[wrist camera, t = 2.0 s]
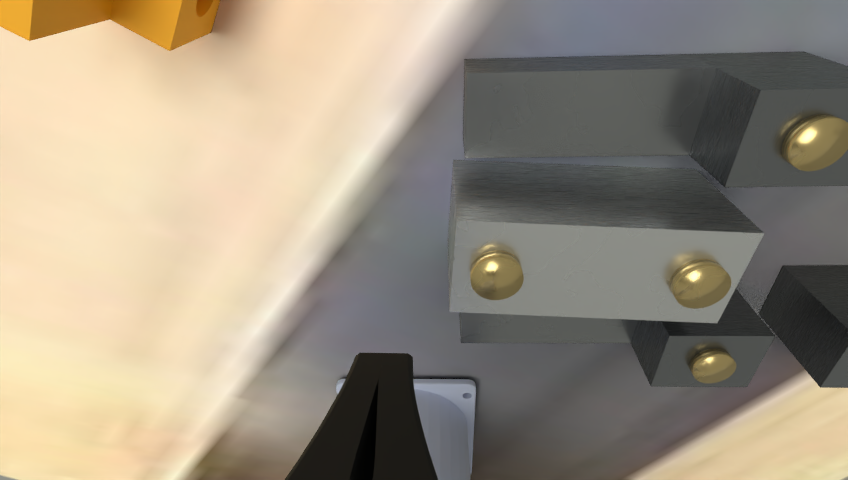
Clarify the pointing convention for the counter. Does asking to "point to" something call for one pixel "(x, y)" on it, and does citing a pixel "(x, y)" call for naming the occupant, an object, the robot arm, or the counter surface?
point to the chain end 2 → (812, 319)
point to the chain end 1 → (663, 135)
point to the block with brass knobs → (593, 242)
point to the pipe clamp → (113, 17)
